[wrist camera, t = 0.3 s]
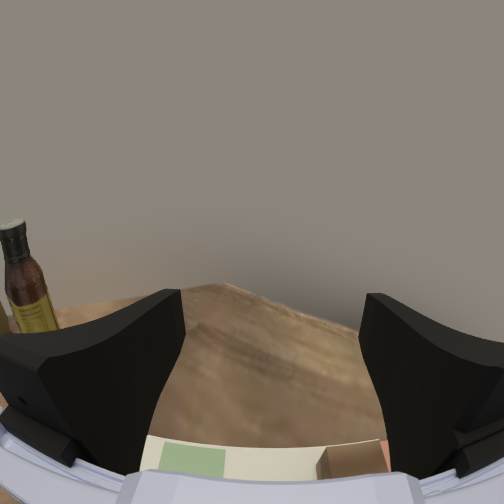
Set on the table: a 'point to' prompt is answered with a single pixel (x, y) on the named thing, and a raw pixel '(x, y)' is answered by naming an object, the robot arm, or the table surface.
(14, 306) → the sauce bottle
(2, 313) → the squeeze bottle
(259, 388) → the table surface
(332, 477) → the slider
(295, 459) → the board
